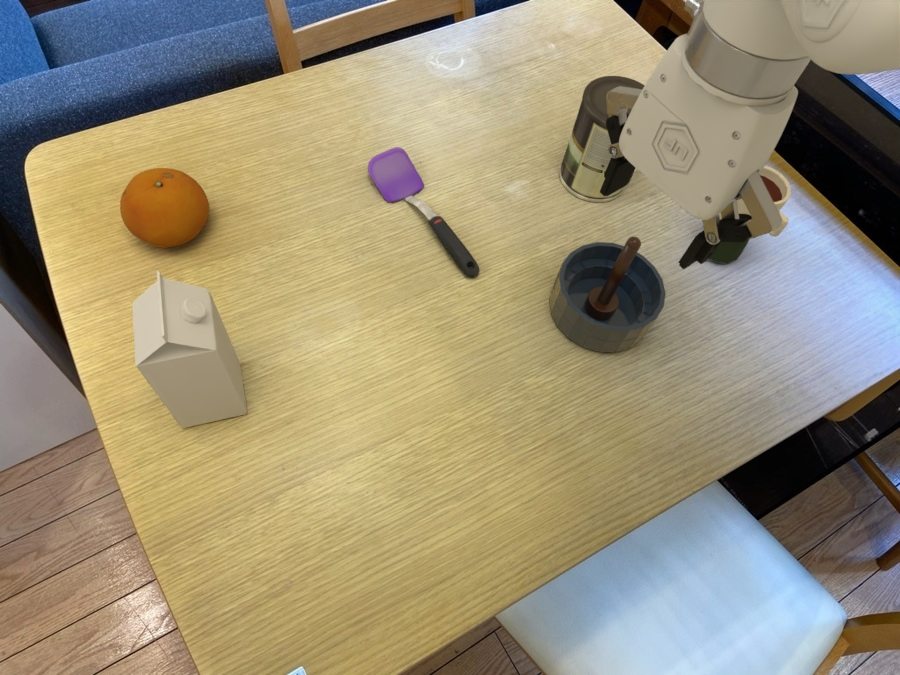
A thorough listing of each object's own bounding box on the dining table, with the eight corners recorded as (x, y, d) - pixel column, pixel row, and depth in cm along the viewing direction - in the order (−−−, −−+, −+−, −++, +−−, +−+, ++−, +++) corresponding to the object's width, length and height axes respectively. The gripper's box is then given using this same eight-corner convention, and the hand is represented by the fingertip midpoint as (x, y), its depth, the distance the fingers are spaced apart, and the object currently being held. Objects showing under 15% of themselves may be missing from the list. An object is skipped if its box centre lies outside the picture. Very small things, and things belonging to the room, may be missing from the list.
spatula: (494, 269, 84) (497, 258, 82) (453, 290, 82) (455, 279, 80) (401, 157, 93) (401, 144, 91) (361, 173, 91) (360, 160, 89)
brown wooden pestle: (620, 311, 82) (660, 243, 70) (599, 325, 80) (636, 259, 68) (599, 290, 83) (635, 220, 71) (578, 304, 82) (610, 234, 70)
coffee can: (544, 172, 94) (567, 93, 82) (590, 144, 98) (619, 65, 86) (593, 214, 91) (625, 138, 79) (639, 183, 95) (676, 107, 83)
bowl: (668, 322, 82) (687, 296, 77) (597, 372, 78) (612, 349, 72) (599, 255, 87) (612, 226, 82) (528, 298, 82) (537, 271, 77)
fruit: (231, 214, 85) (217, 171, 78) (182, 270, 80) (163, 229, 73) (166, 186, 87) (147, 142, 80) (115, 239, 81) (90, 196, 75)
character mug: (672, 233, 90) (712, 166, 79) (705, 213, 93) (748, 146, 82) (729, 285, 86) (779, 223, 75) (761, 263, 89) (815, 200, 78)
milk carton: (182, 429, 69) (118, 344, 53) (177, 374, 73) (116, 277, 56) (247, 415, 71) (206, 327, 54) (240, 361, 74) (198, 263, 58)
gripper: (614, -4, 42) (555, 179, 57) (821, 151, 36) (695, 311, 51) (686, -33, 45) (613, 148, 60) (891, 106, 39) (753, 270, 54)
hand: (651, 223), depth 55 cm, fingers open, 9 cm apart
